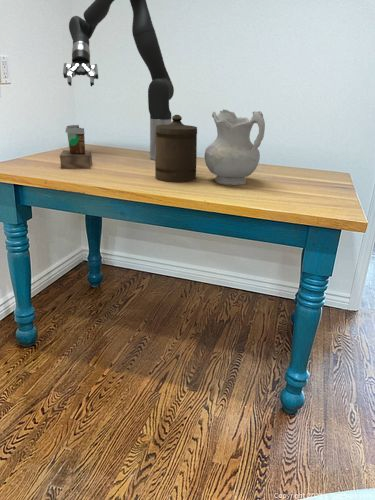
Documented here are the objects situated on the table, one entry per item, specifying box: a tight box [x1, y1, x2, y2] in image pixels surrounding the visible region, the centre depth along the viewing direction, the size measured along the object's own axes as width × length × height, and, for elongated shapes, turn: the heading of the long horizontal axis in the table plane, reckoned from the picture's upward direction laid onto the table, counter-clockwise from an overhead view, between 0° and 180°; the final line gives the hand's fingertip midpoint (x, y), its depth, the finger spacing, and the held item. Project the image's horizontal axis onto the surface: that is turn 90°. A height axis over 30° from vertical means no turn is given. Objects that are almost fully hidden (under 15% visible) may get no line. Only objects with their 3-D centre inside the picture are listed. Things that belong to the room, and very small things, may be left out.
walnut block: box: [59, 149, 93, 170], centre depth 165 cm, size 11×12×5 cm
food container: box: [65, 124, 86, 155], centre depth 163 cm, size 12×6×10 cm, turn 23°
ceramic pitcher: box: [204, 109, 266, 186], centre depth 144 cm, size 22×20×25 cm
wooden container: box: [154, 114, 198, 183], centre depth 148 cm, size 15×15×22 cm
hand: (80, 84), depth 172 cm, fingers open, 8 cm apart
